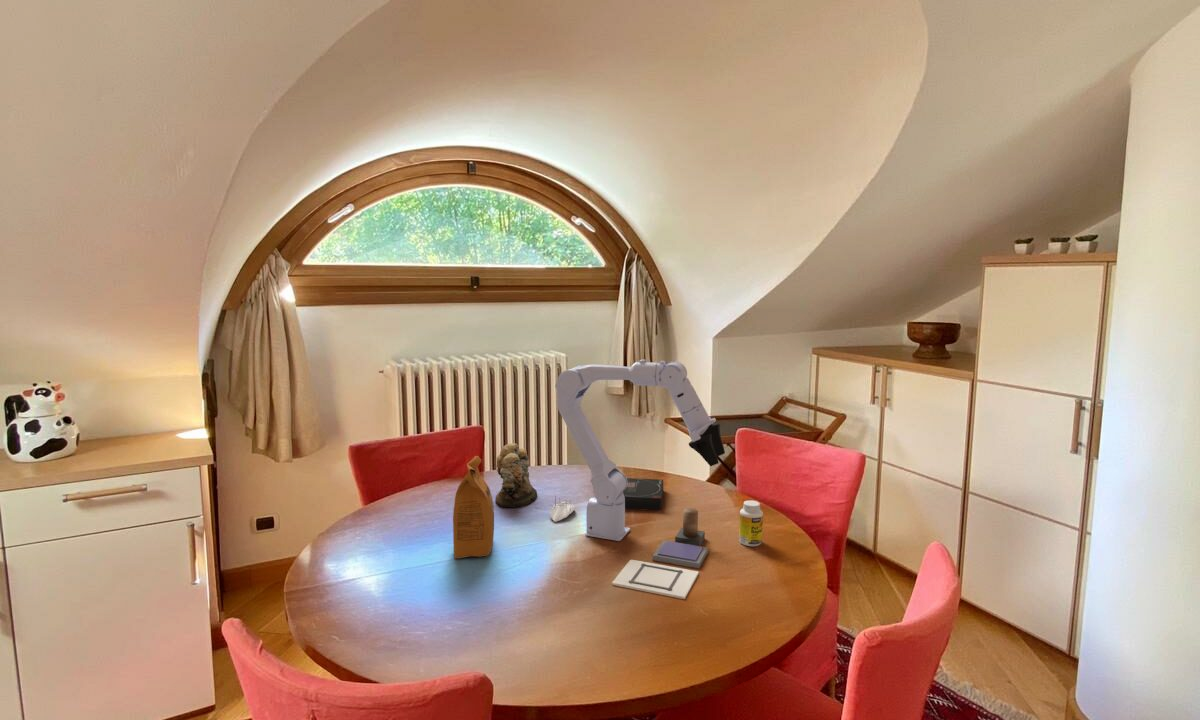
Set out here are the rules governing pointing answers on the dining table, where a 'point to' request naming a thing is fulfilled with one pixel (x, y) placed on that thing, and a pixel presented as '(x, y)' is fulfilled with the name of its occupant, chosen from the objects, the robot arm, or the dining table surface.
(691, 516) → the stamp
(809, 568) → the dining table surface
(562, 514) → the pincushion
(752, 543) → the supplement bottle
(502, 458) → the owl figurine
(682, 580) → the marked board
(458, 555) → the coffee package
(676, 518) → the dining table surface
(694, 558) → the ink pad
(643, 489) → the portable cd player
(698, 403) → the robot arm
